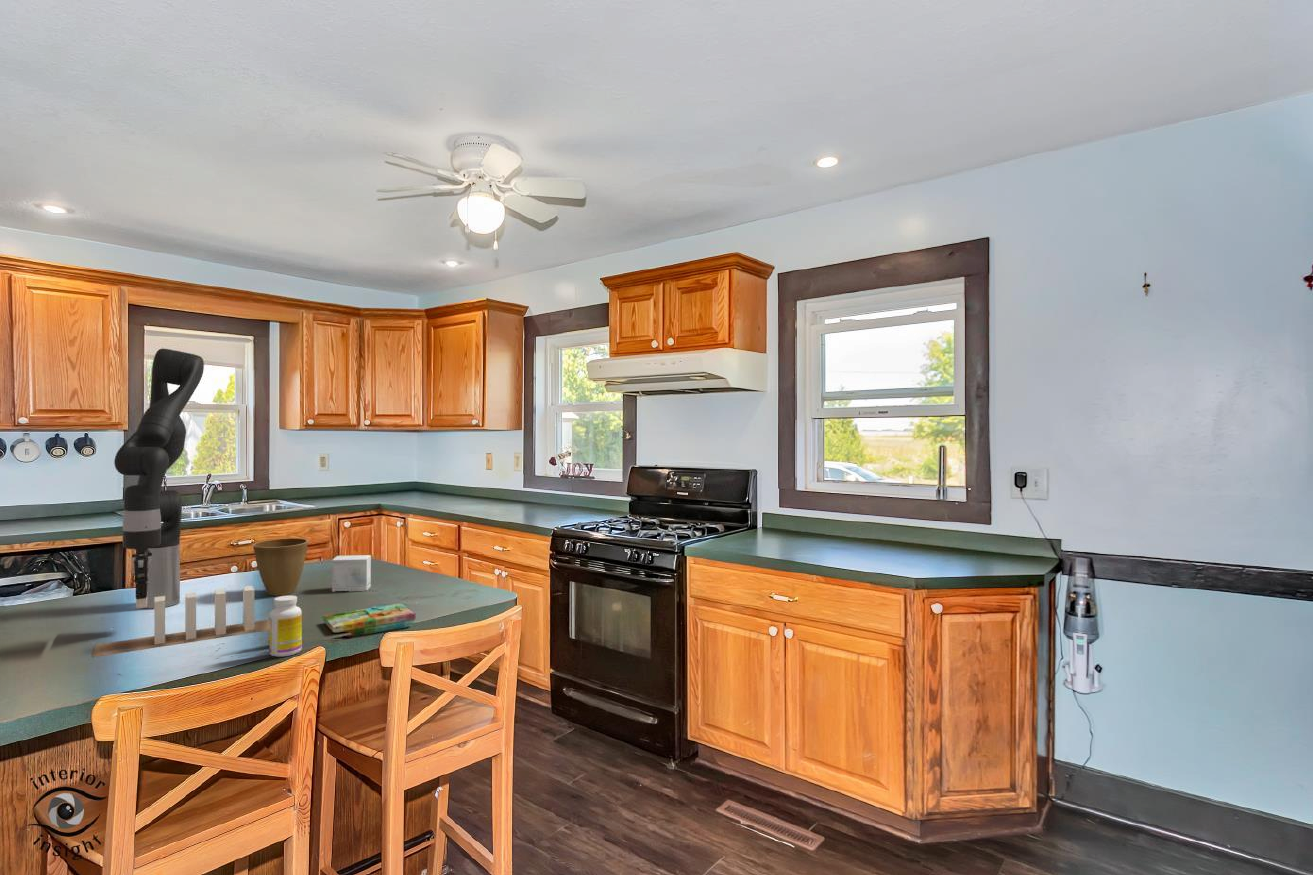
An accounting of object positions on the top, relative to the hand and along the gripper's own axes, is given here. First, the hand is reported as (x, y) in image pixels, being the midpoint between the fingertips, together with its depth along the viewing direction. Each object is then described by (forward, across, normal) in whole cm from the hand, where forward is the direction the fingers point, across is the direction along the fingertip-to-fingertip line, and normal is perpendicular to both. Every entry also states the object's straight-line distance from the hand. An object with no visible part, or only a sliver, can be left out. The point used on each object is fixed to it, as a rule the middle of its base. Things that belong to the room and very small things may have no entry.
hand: (141, 595), depth 165 cm
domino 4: (+8, -12, -16) cm, 22 cm away
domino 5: (+8, -12, -22) cm, 26 cm away
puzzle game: (+10, -24, -48) cm, 55 cm away
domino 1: (+2, 0, 0) cm, 2 cm away
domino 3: (+8, -12, -10) cm, 18 cm away
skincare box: (+10, +22, -53) cm, 58 cm away
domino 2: (+8, -12, -4) cm, 15 cm away
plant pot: (+11, +28, -33) cm, 45 cm away
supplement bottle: (+10, -33, -28) cm, 44 cm away
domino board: (+10, -12, -10) cm, 19 cm away
